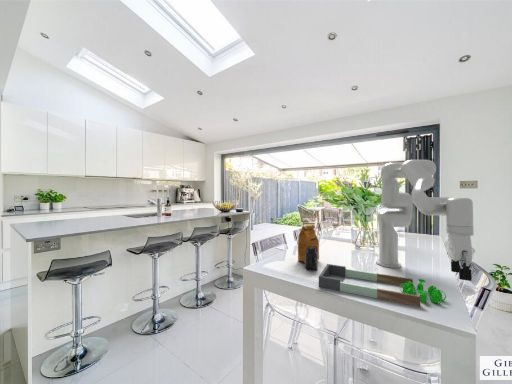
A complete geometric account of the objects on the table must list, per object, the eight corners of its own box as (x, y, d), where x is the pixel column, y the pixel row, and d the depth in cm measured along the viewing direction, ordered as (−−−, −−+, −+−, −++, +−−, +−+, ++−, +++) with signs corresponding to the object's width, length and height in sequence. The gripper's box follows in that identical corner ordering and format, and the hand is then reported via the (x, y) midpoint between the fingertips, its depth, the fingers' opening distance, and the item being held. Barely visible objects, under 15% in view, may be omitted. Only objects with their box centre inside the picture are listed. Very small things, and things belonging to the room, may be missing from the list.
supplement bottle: (315, 266, 127) (315, 245, 127) (319, 270, 120) (319, 248, 120) (303, 266, 127) (303, 245, 127) (306, 270, 120) (306, 248, 120)
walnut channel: (377, 280, 106) (377, 273, 106) (412, 286, 100) (412, 278, 100) (377, 298, 88) (377, 289, 89) (420, 306, 82) (420, 297, 82)
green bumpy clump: (442, 294, 93) (442, 277, 93) (449, 310, 80) (449, 291, 80) (399, 286, 100) (399, 271, 100) (400, 299, 88) (400, 282, 88)
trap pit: (327, 272, 117) (327, 263, 117) (345, 275, 113) (345, 266, 113) (318, 286, 99) (318, 276, 99) (339, 290, 95) (339, 280, 95)
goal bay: (345, 275, 113) (345, 268, 113) (377, 280, 106) (377, 273, 106) (339, 290, 95) (339, 282, 95) (377, 298, 88) (377, 289, 89)
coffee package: (321, 261, 137) (321, 225, 137) (307, 265, 129) (307, 227, 130) (309, 257, 145) (309, 223, 145) (295, 260, 138) (295, 225, 138)
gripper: (441, 227, 94) (442, 268, 93) (453, 232, 79) (454, 281, 78) (464, 228, 90) (465, 270, 90) (482, 234, 75) (484, 285, 75)
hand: (460, 275), depth 84 cm, fingers open, 9 cm apart
